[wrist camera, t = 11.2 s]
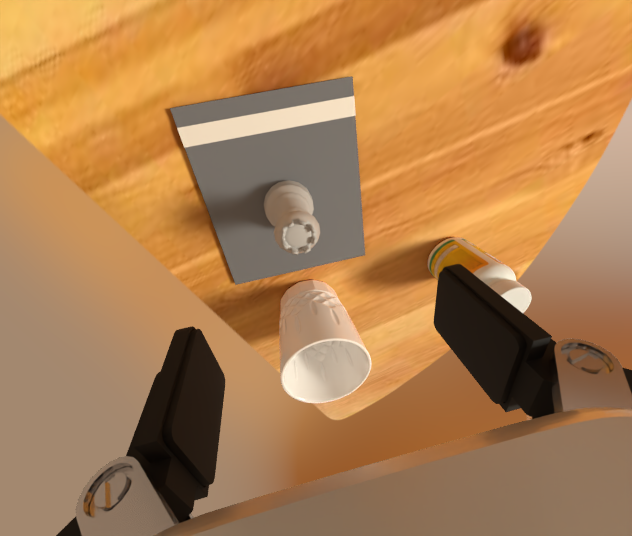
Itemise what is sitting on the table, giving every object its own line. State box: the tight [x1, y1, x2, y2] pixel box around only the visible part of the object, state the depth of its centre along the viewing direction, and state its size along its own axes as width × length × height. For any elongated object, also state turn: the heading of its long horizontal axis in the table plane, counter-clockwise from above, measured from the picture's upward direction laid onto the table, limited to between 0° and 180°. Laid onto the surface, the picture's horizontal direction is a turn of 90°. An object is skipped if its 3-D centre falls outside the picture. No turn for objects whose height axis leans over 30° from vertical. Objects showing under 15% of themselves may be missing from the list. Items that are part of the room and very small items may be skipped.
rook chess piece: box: [264, 180, 320, 255], centre depth 22 cm, size 4×4×8 cm
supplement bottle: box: [428, 237, 531, 313], centre depth 28 cm, size 5×5×10 cm
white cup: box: [279, 280, 371, 403], centre depth 28 cm, size 8×8×10 cm
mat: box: [170, 77, 365, 285], centre depth 25 cm, size 16×14×1 cm
